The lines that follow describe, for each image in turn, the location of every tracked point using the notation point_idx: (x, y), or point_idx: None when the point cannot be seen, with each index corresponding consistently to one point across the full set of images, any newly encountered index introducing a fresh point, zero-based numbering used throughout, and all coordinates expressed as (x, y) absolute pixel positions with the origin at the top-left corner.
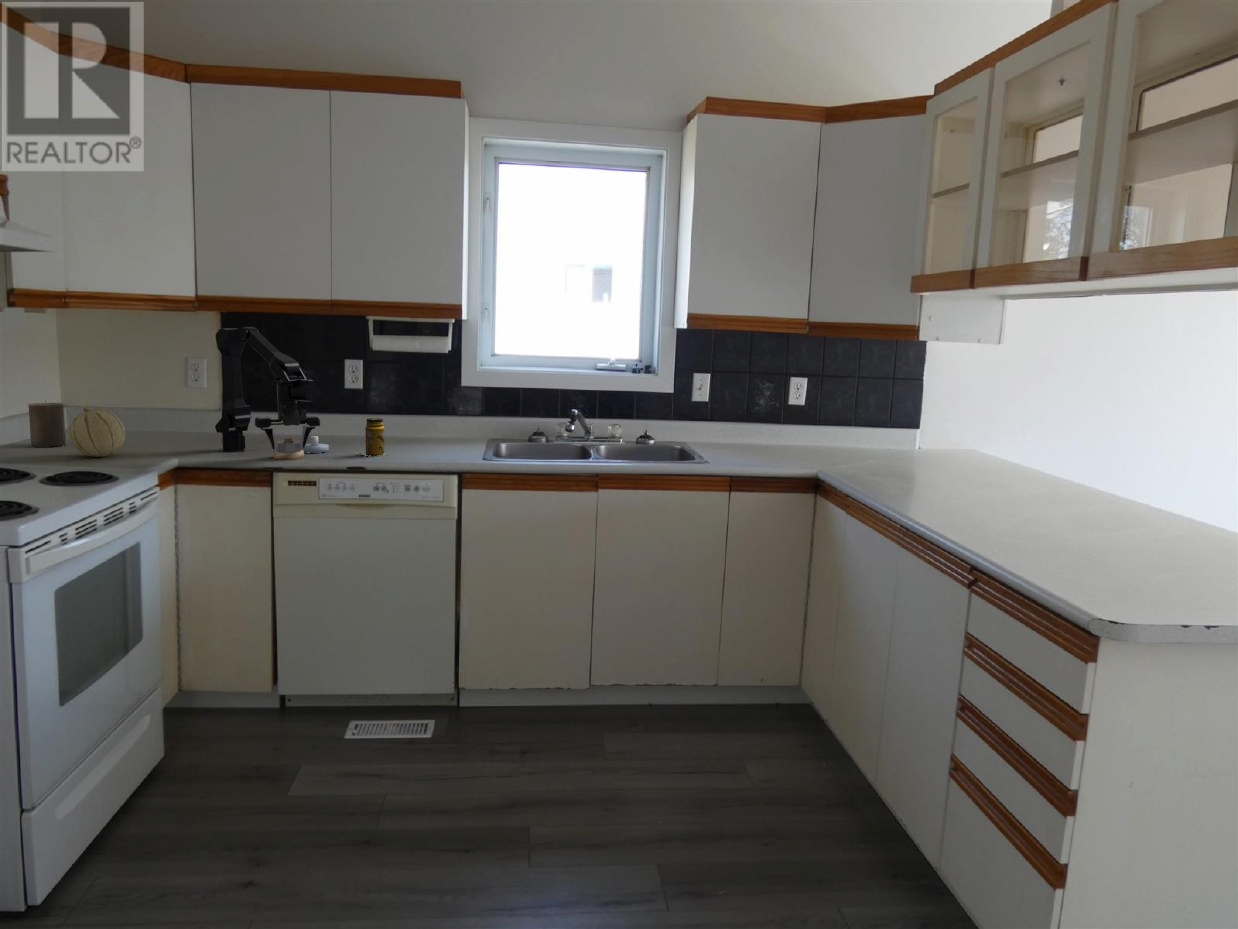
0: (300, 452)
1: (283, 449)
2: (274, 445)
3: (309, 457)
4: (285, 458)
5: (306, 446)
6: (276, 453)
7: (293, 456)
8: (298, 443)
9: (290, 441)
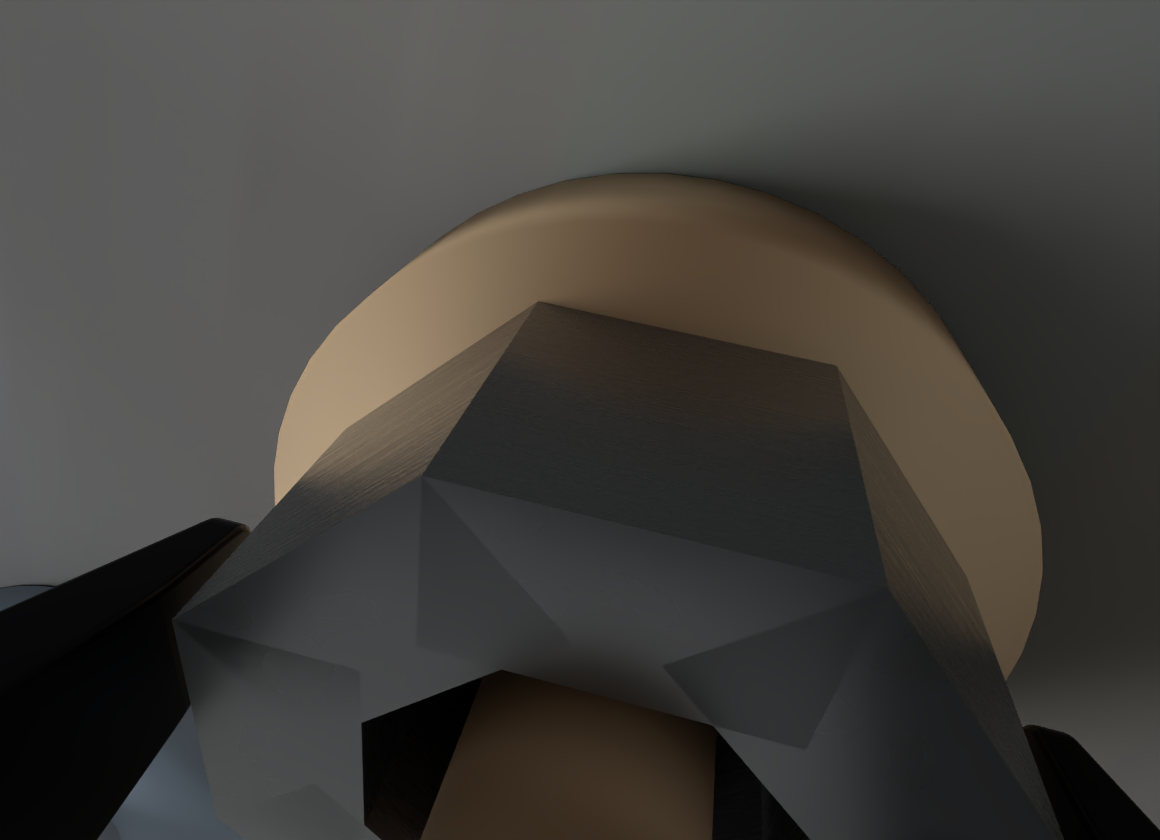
0: (394, 282)
1: (894, 500)
2: (1090, 831)
3: (247, 297)
4: (868, 252)
5: (183, 819)
6: (1036, 531)
7: (655, 190)
8: (288, 537)
9: (528, 777)
